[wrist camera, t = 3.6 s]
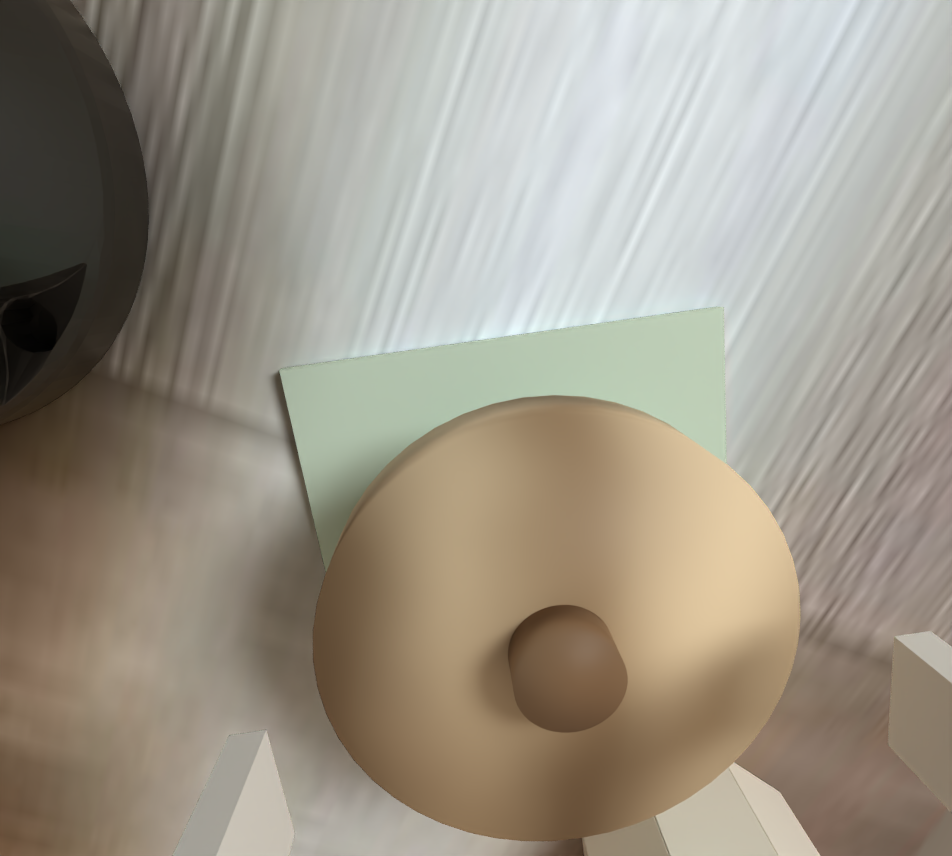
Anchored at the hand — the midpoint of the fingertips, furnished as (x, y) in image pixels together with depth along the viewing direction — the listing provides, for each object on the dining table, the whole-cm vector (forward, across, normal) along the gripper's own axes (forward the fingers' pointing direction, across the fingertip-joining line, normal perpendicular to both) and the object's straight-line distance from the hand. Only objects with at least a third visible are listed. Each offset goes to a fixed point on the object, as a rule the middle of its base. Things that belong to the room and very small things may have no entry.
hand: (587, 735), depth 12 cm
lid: (+4, 0, 0) cm, 4 cm away
